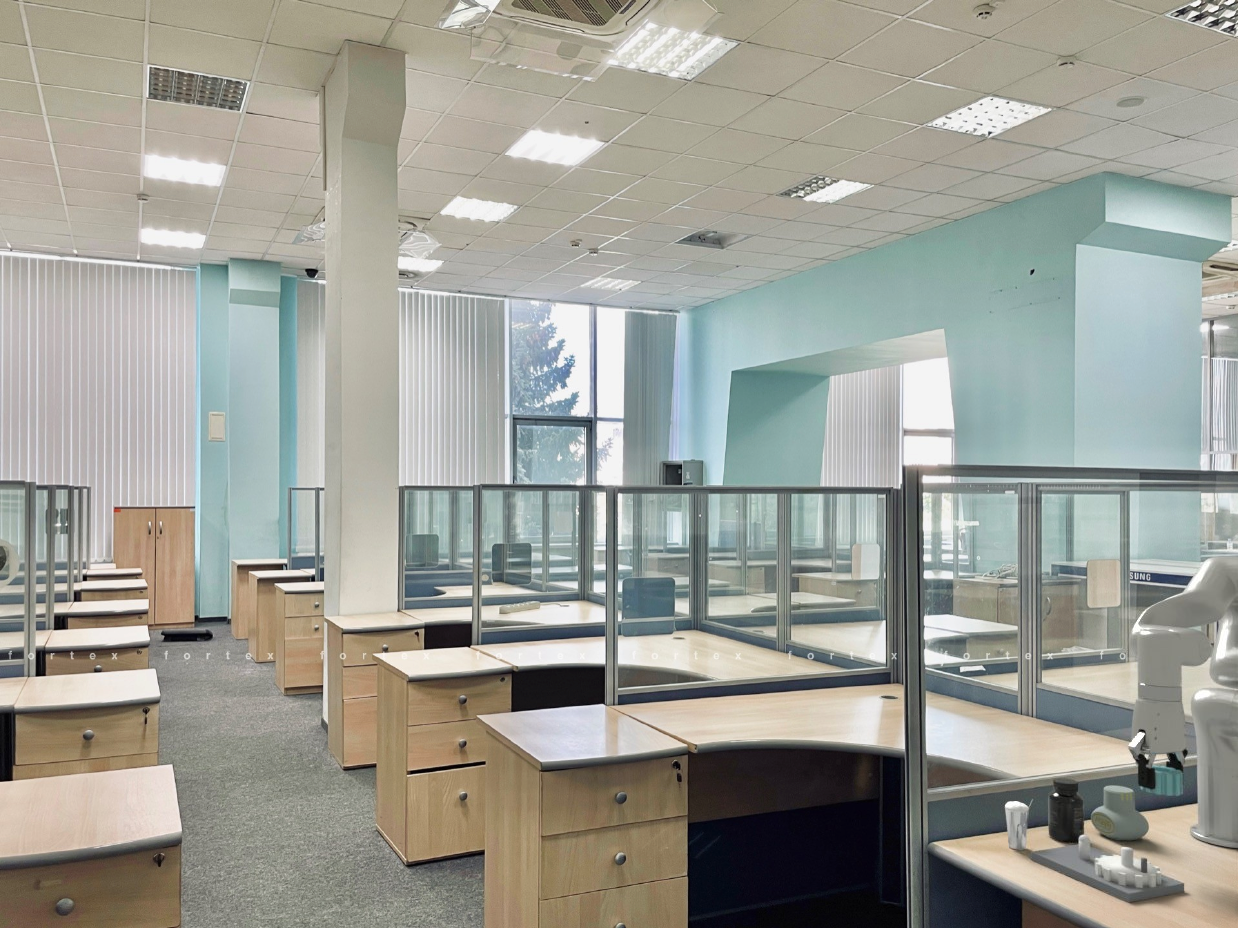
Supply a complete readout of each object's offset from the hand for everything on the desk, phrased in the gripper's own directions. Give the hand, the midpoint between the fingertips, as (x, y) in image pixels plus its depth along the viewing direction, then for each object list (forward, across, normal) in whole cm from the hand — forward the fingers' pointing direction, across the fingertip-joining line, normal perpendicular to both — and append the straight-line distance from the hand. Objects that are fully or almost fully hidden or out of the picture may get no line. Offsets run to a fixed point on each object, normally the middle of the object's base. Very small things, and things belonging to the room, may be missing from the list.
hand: (1160, 784), depth 183 cm
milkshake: (+16, +17, -19) cm, 30 cm away
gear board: (+16, +13, -2) cm, 21 cm away
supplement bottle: (+16, +3, -20) cm, 26 cm away
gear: (+1, 0, 0) cm, 1 cm away
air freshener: (+16, -9, -16) cm, 25 cm away
